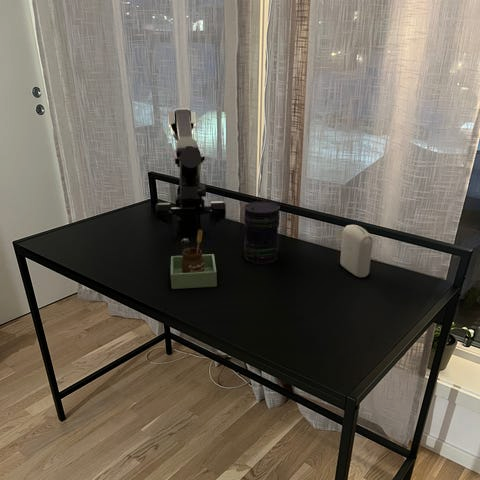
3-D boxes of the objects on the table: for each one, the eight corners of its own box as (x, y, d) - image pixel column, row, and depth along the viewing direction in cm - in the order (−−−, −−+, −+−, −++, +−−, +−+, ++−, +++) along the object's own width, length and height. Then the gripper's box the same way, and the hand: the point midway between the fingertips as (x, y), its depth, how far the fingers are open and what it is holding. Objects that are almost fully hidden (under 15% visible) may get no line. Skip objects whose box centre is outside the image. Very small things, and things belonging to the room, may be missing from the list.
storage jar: (269, 247, 154) (270, 199, 147) (284, 260, 147) (286, 209, 139) (238, 253, 151) (238, 204, 143) (252, 266, 143) (252, 214, 136)
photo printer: (337, 264, 144) (341, 222, 138) (350, 261, 145) (355, 220, 139) (356, 279, 136) (362, 235, 129) (370, 276, 137) (376, 232, 131)
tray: (172, 269, 142) (170, 256, 140) (214, 267, 143) (213, 254, 141) (171, 288, 132) (170, 274, 130) (217, 286, 133) (216, 272, 131)
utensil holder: (177, 275, 137) (174, 233, 131) (196, 268, 141) (193, 227, 135) (191, 282, 133) (188, 239, 127) (210, 275, 137) (208, 232, 131)
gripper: (152, 173, 133) (153, 228, 129) (224, 171, 134) (227, 226, 130) (157, 193, 144) (158, 245, 140) (224, 192, 145) (226, 243, 141)
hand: (192, 240), depth 138 cm, fingers open, 9 cm apart
